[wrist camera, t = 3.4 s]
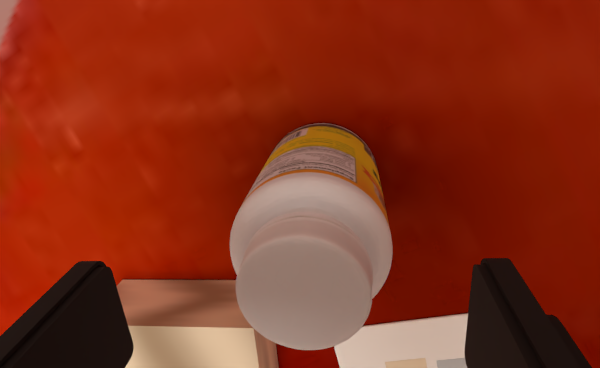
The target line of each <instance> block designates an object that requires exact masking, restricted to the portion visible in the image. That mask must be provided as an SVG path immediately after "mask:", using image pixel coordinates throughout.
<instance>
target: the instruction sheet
mask: <svg viewBox="0 0 600 368" xmlns="http://www.w3.org/2000/svg"><path fill="white" fill-rule="evenodd" d="M467 320H468V313H465V314H456V315H448V316H440V317H432V318H424V319H415V320H407V321H399V322H391V323H382V324H374V325H366V326H362V327H361V328H360V330H359V331H358V332H357V333H356V334H354V335H353V336H352V337H351V338H349V339H348V340H346V341H344V342H342V343H340V344H338V345H336V346H334V349H335V352H336V356H337V359H338V363H339V367H340V368H467V365H466V361H465V352H464V351H465V340H466V330H467Z"/></svg>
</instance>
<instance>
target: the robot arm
mask: <svg viewBox="0 0 600 368" xmlns="http://www.w3.org/2000/svg"><path fill="white" fill-rule="evenodd" d="M133 349H134V345H133V340H132V337H131V334H130V330H129V327H128V324H127V320H126V317H125V314H124V310H123V307H122V303H121V300H120V297H119V293H118V290H117V287H116V283H115V280H114V277H113V273H112V270H111V269H110V268H109V267H106V265H105V264H104V262H101V261H81V262H78V263H77V264H75V265H74V266H73V267H72V268H71V269H70V270H69V271H68V272H67V273H66V274H65V275H64V276H63V277H62V278H61V279H60V280H59V281H58V282H57V283H55V284H54V285H53V286H52V287H51V288H50V289H49V290H48V291H47V292H46V293H45V294H44V295H43V296H42V297H41V298H40V299H39V300H38V301H37V302H36V303H35V304H34V305H32V306H31V307H30V308H29V309H28V310H27V311H26V312H25V313H24V314H23V315H22V316H21V317H20V318H19V319H18V320H17V321H16V322H15V323H14V324H13V325H12V326H11V327H10V328H8V329H7V330H6V331H5V332H4V333H3V334H2V335H1V336H0V368H125V367H126V365H127V364H128V362H129V360H130V359H131V357H132V354H133ZM464 352H465V361H466V365H467V368H592V367H591V366H590V364H589V363H588V361H587V360H586V359H585V357H584V356H583V354H582V353H581V351H580V350H579V348H578V347H577V345H576V344H575V342H574V341H573V339H572V338H571V337H570V335H569V334H568V332H567V331H566V329H565V328H564V326H563V325H562V323H561V322H560V321H559V320H558V319H557V317H555V316H553V315H546V314H545V313H544V311H543V309H542V308H541V306H540V305H539V303H538V302H537V300H536V299H535V297H534V296H533V294H532V293H531V291H530V289H529V288H528V286H527V285H526V283H525V282H524V280H523V279H522V277H521V276H520V274H519V273H518V271H517V269H516V268H515V266H514V265H513V263H512V262H511V261H510V259H508V258H484V259H482V261H481V265H474V267H473V272H472V282H471V291H470V301H469V311H468V320H467V330H466V340H465V351H464Z"/></svg>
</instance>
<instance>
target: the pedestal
mask: <svg viewBox="0 0 600 368" xmlns="http://www.w3.org/2000/svg"><path fill="white" fill-rule="evenodd" d="M235 285H236V280H122V281H121V282H120V283H119V284H118V285H117V290H118V293H119V297H120V300H121V303H122V307H123V310H124V314H125V317H126V320H127V324H128V327H129V330H130V334H131V337H132V340H133V345H134V349H133V354H132V357H131V359H130V360H129V362H128V364H127V365H126V367H125V368H279V366H278V358H277V349H276V343H274V342H272V341H271V340H269V339H267V338H265V337H264V336H262V335H261V334H260V333H259V332H257V331H256V330H255V329H254V328H253V327H252V326H251V325H250V324H249V323H248V321H247V320H246V319H245V317H244V315H243V313H242V311H241V310H240V308H239V305H238V302H237V297H236V286H235Z"/></svg>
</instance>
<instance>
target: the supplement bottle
mask: <svg viewBox="0 0 600 368" xmlns="http://www.w3.org/2000/svg"><path fill="white" fill-rule="evenodd" d="M230 255H231V259H232V264H233V267H234V269H235V272H236V274H237V278H236V285H235V286H236V297H237V302H238V305H239V308H240V310H241V311H242V313H243V315H244V317H245V319H246V320H247V321H248V323H249V324H250V325H251V326H252V327H253V328H254V329H255V330H256V331H257V332H259V333H260V334H261V335H262V336H264V337H265V338H267V339H269V340H271V341H272V342H274V343H277V344H279V345H282V346H285V347H289V348H293V349H298V350H319V349H326V348H330V347H333V346H336V345H338V344H340V343H342V342H344V341H346V340H348V339H349V338H351V337H352V336H353V335H354V334H356V333H357V332H358V331H359V330H360V328H361V327H362V326H363V325H364V323H365V321H366V319H367V317H368V315H369V313H370V309H371V305H372V299H373V298H374V297H375V296H376V294H377V293H378V292H379V291H380V289H381V288H382V286H383V285H384V283H385V281H386V279H387V276H388V274H389V271H390V268H391V263H392V255H393V246H392V238H391V232H390V227H389V222H388V217H387V212H386V207H385V202H384V197H383V192H382V187H381V183H380V178H379V173H378V168H377V165H376V161H375V158H374V156H373V154H372V152H371V150H370V149H369V147H368V146H367V144H366V143H365V142H364V141H363V140H362V139H361V138H360V137H359V136H357V135H356V134H355V133H353V132H351V131H350V130H348V129H346V128H343V127H341V126H337V125H333V124H326V123H317V124H310V125H306V126H302V127H300V128H298V129H296V130H294V131H292V132H290V133H289V134H288V135H286V136H285V137H284V138H283V139H282V140H281V141H280V142H279V143H278V144H277V146H276V147H275V148H274V150H273V152H272V153H271V155H270V157H269V158H268V160H267V162H266V163H265V165H264V167H263V168H262V170H261V172H260V173H259V175H258V177H257V179H256V181H255V183H254V184H253V186H252V188H251V189H250V191H249V193H248V195H247V196H246V198H245V200H244V202H243V204H242V205H241V207H240V209H239V211H238V213H237V215H236V217H235V220H234V222H233V226H232V229H231V234H230Z"/></svg>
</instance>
